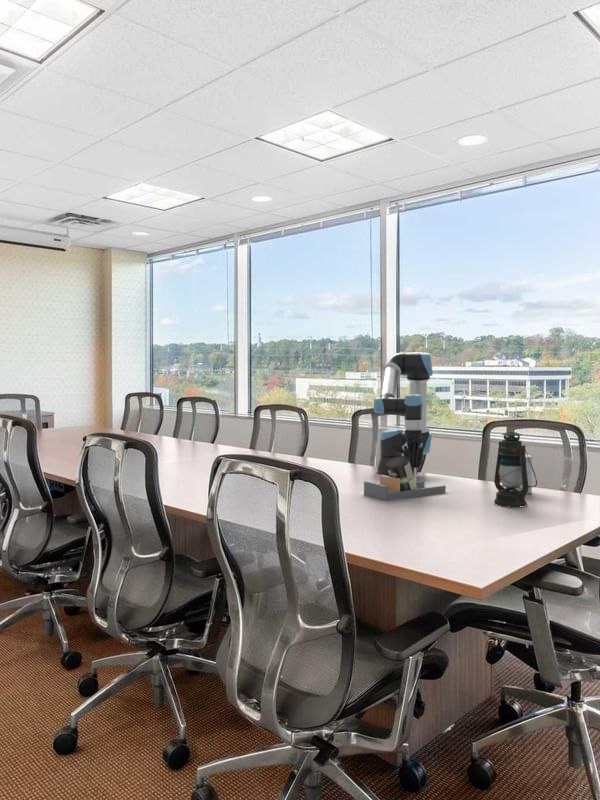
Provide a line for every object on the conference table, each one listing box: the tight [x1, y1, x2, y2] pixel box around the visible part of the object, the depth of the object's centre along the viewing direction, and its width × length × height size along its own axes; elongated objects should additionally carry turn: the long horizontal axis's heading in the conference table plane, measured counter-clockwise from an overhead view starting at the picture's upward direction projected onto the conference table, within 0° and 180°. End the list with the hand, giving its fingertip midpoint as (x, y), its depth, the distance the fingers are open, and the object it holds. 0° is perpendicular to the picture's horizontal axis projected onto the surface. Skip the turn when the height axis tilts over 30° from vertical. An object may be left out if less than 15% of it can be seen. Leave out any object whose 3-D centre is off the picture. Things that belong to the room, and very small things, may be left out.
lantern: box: [493, 431, 538, 508], centre depth 252 cm, size 19×14×30 cm
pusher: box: [379, 474, 400, 493], centre depth 268 cm, size 2×11×8 cm, turn 33°
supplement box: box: [515, 453, 533, 493], centre depth 278 cm, size 10×9×17 cm
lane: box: [363, 480, 446, 502], centre depth 273 cm, size 35×14×6 cm, turn 123°
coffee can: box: [386, 455, 417, 491], centre depth 271 cm, size 10×10×14 cm
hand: (413, 482), depth 275 cm, fingers closed
